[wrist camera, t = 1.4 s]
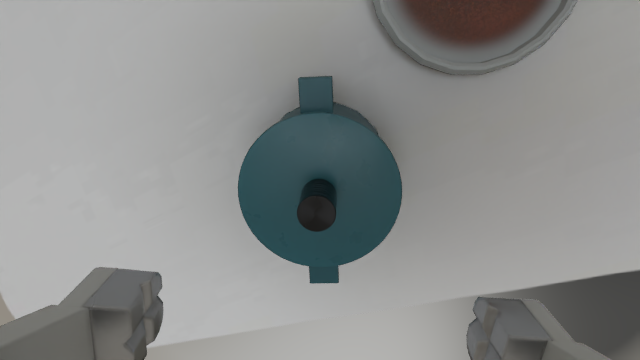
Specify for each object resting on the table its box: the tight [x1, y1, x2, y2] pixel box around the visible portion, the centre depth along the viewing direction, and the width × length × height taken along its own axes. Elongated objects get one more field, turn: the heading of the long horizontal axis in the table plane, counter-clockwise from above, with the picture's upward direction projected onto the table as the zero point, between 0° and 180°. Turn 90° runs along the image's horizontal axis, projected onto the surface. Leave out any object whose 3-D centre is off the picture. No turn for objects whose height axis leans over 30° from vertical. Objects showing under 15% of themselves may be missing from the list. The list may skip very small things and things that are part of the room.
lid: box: [238, 112, 402, 267], centre depth 28 cm, size 12×12×5 cm
